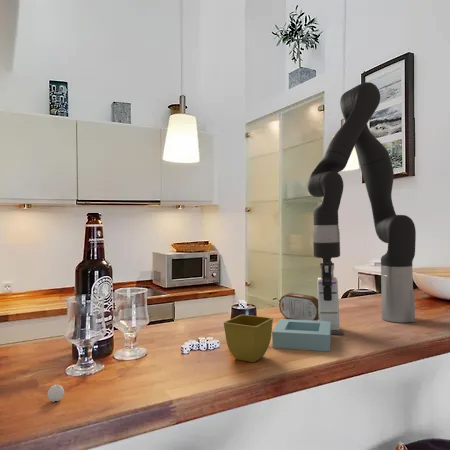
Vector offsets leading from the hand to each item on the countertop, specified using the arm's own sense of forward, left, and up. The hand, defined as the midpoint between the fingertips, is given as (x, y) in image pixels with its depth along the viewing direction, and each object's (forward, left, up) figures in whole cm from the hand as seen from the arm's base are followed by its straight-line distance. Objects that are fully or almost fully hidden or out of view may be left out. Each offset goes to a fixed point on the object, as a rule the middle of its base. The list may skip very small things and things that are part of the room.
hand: (328, 298), depth 116 cm
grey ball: (+46, +59, -10) cm, 76 cm away
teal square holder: (+6, +13, -9) cm, 17 cm away
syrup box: (0, 0, -9) cm, 9 cm away
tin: (+9, -10, -10) cm, 17 cm away
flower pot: (+17, +29, -10) cm, 35 cm away
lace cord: (+5, +5, -9) cm, 11 cm away
